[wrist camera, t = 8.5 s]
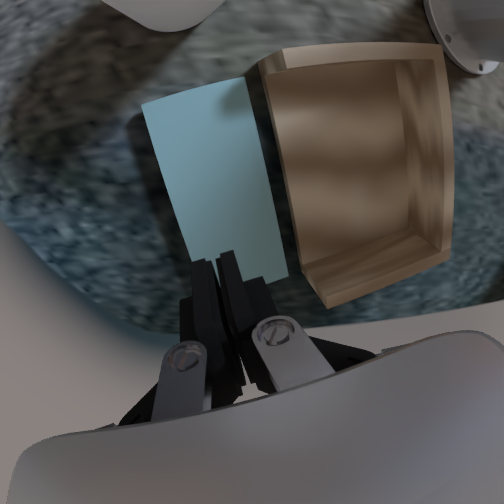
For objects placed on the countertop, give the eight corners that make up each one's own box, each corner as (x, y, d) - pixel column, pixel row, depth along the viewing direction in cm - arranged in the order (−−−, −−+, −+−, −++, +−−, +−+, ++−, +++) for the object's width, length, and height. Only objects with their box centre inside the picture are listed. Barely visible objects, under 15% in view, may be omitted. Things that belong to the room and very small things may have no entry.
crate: (257, 61, 20) (282, 49, 15) (394, 49, 21) (441, 44, 16) (300, 270, 29) (327, 309, 23) (411, 232, 30) (449, 259, 24)
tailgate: (240, 78, 20) (142, 105, 19) (244, 76, 19) (141, 104, 18) (283, 269, 28) (206, 296, 27) (288, 276, 27) (208, 303, 26)
